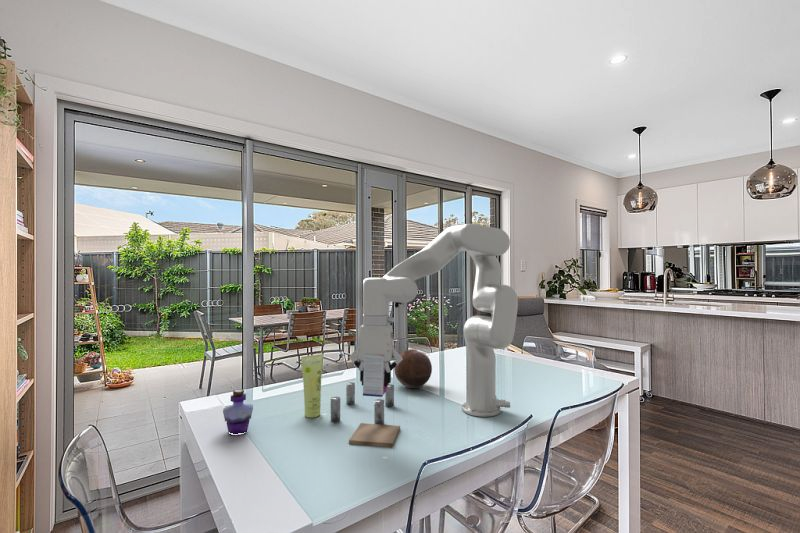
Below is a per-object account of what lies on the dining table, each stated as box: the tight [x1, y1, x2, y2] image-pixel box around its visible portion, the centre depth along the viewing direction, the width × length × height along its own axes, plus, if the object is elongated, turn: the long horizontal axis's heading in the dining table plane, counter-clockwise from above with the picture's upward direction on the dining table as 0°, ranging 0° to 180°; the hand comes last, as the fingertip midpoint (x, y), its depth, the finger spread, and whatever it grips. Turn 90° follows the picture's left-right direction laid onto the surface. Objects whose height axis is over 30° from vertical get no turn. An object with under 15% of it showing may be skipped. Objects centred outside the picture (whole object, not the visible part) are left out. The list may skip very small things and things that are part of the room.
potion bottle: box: [222, 389, 254, 434], centre depth 115 cm, size 9×9×12 cm
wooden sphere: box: [393, 348, 433, 389], centre depth 159 cm, size 15×15×15 cm
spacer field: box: [330, 381, 395, 425], centre depth 130 cm, size 17×19×7 cm
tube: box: [300, 353, 324, 418], centre depth 128 cm, size 6×5×20 cm
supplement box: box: [362, 354, 387, 398], centre depth 112 cm, size 6×6×12 cm
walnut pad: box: [348, 422, 401, 448], centre depth 112 cm, size 12×12×1 cm
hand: (375, 384), depth 112 cm, fingers closed on supplement box, 5 cm apart
